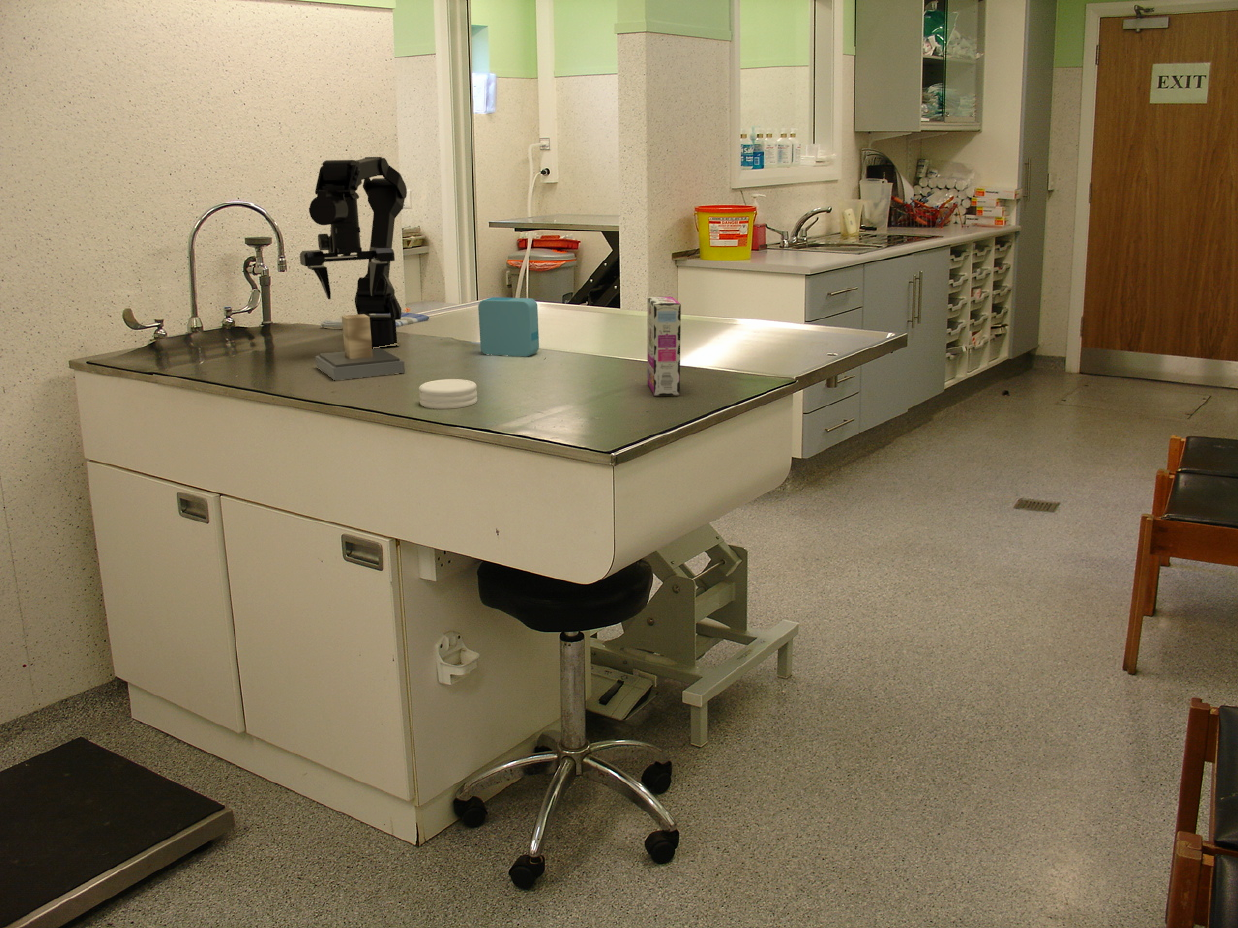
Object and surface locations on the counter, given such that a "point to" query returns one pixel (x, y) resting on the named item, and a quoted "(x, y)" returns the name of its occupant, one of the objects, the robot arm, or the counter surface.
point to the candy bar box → (664, 346)
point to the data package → (508, 326)
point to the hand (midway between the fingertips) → (351, 297)
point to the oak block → (357, 336)
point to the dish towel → (405, 317)
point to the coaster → (448, 394)
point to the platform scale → (359, 365)
